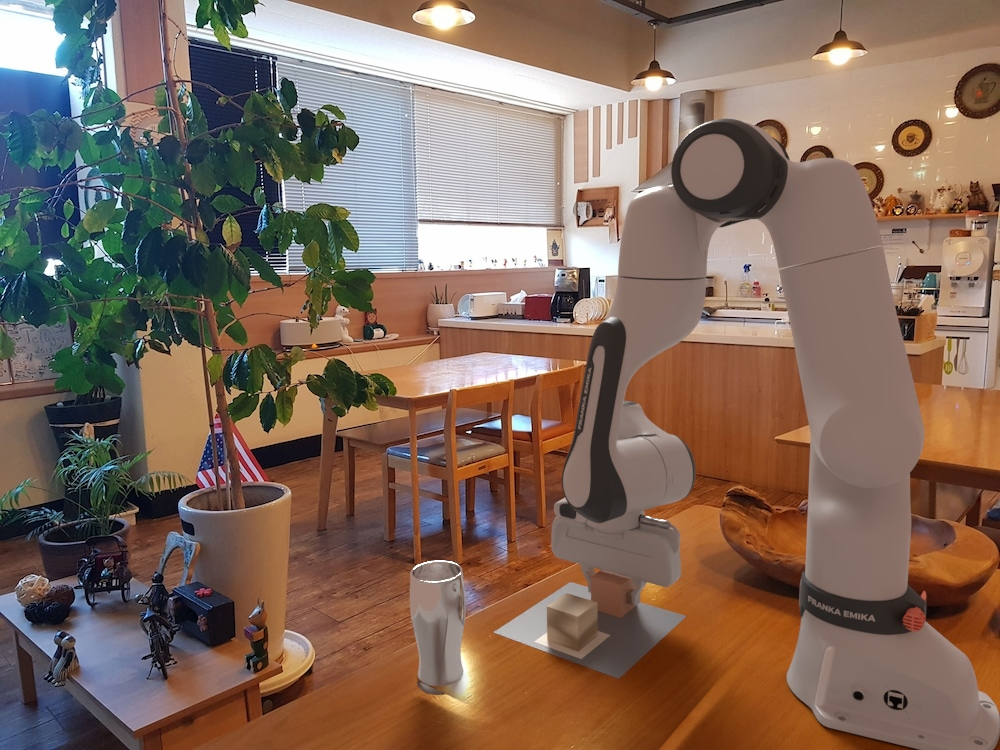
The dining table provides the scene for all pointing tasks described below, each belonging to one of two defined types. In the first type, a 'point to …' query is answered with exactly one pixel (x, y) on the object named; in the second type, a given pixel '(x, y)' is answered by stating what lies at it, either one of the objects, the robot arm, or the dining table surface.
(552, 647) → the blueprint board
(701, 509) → the dining table surface
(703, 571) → the dining table surface
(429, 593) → the beer glass
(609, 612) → the terracotta block
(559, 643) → the maple block
